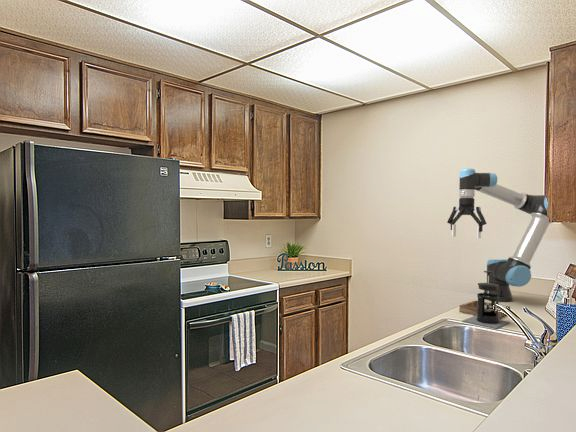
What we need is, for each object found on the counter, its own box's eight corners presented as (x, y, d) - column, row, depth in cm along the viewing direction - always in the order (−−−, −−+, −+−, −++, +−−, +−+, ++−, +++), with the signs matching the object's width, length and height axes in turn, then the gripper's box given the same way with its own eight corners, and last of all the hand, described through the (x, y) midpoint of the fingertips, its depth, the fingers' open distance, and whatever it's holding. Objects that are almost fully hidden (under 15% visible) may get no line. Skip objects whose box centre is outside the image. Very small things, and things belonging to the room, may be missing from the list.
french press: (484, 317, 196) (485, 268, 195) (504, 321, 188) (505, 271, 187) (470, 320, 189) (470, 270, 189) (489, 325, 181) (490, 273, 181)
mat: (477, 316, 199) (477, 315, 199) (510, 323, 188) (510, 321, 188) (462, 321, 189) (462, 320, 189) (496, 329, 178) (496, 327, 178)
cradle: (475, 306, 218) (475, 300, 218) (510, 313, 205) (510, 306, 205) (459, 312, 207) (459, 305, 207) (495, 319, 194) (495, 312, 194)
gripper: (441, 197, 227) (440, 236, 228) (487, 197, 208) (486, 239, 209) (448, 198, 232) (447, 235, 233) (493, 197, 213) (492, 238, 214)
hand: (466, 237), depth 221 cm, fingers open, 13 cm apart
